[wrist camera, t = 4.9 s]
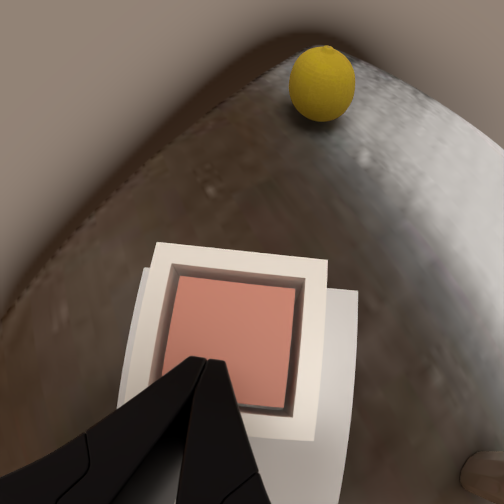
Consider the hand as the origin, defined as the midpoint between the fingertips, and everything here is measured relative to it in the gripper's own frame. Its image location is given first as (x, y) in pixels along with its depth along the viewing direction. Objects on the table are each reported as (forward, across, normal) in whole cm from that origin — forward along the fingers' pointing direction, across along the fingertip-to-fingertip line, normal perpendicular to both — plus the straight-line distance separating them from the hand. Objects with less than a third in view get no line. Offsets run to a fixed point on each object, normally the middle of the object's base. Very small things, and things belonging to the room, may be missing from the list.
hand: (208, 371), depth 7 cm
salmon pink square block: (+6, 0, +4) cm, 7 cm away
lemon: (+25, -4, -8) cm, 26 cm away
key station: (+7, 0, +10) cm, 12 cm away
